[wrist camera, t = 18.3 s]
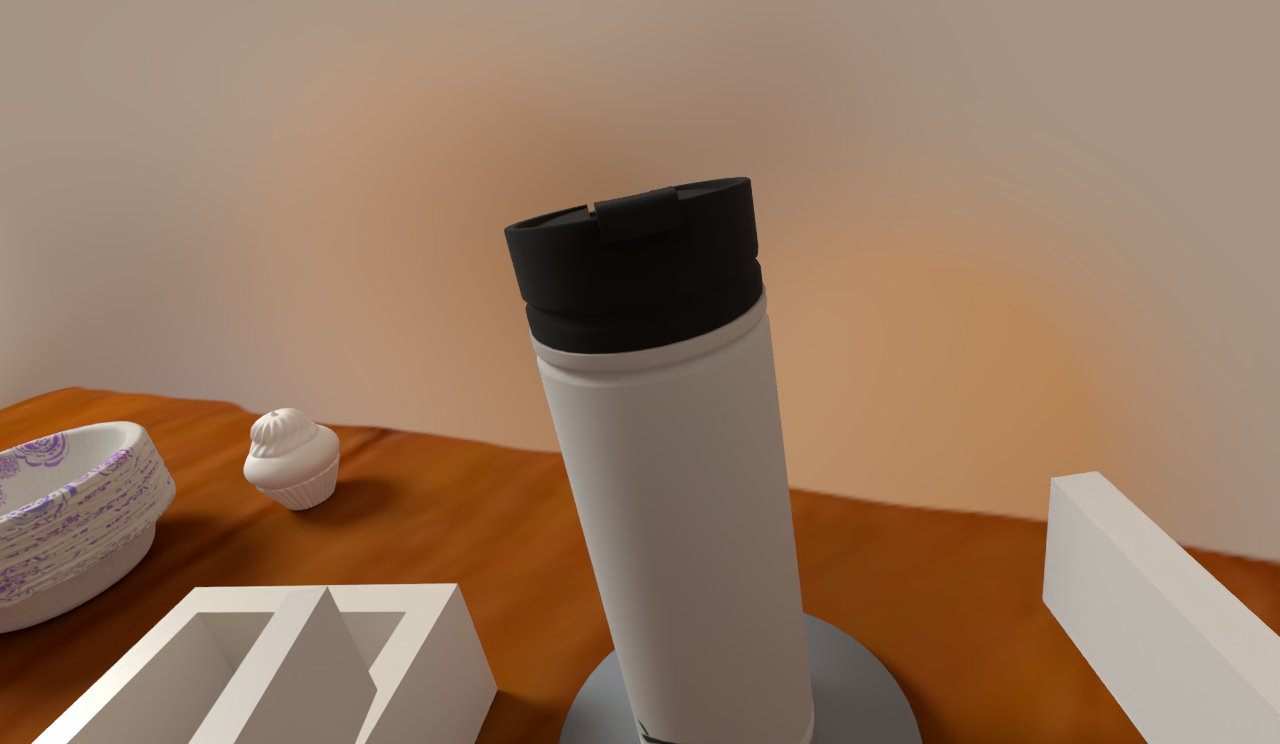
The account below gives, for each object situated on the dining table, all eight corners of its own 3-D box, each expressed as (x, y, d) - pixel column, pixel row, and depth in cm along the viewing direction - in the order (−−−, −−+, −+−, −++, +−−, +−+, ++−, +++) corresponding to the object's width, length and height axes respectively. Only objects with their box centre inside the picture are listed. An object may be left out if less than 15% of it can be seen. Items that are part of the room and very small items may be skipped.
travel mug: (658, 853, 22) (481, 234, 14) (634, 684, 28) (502, 185, 20) (850, 806, 22) (791, 168, 14) (785, 648, 28) (717, 140, 20)
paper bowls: (116, 500, 54) (63, 412, 51) (244, 518, 48) (193, 419, 45) (-133, 649, 42) (-224, 546, 39) (-5, 702, 36) (-101, 583, 32)
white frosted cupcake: (250, 511, 49) (206, 425, 46) (328, 465, 53) (292, 384, 50) (291, 534, 45) (246, 442, 42) (372, 483, 49) (336, 396, 46)
